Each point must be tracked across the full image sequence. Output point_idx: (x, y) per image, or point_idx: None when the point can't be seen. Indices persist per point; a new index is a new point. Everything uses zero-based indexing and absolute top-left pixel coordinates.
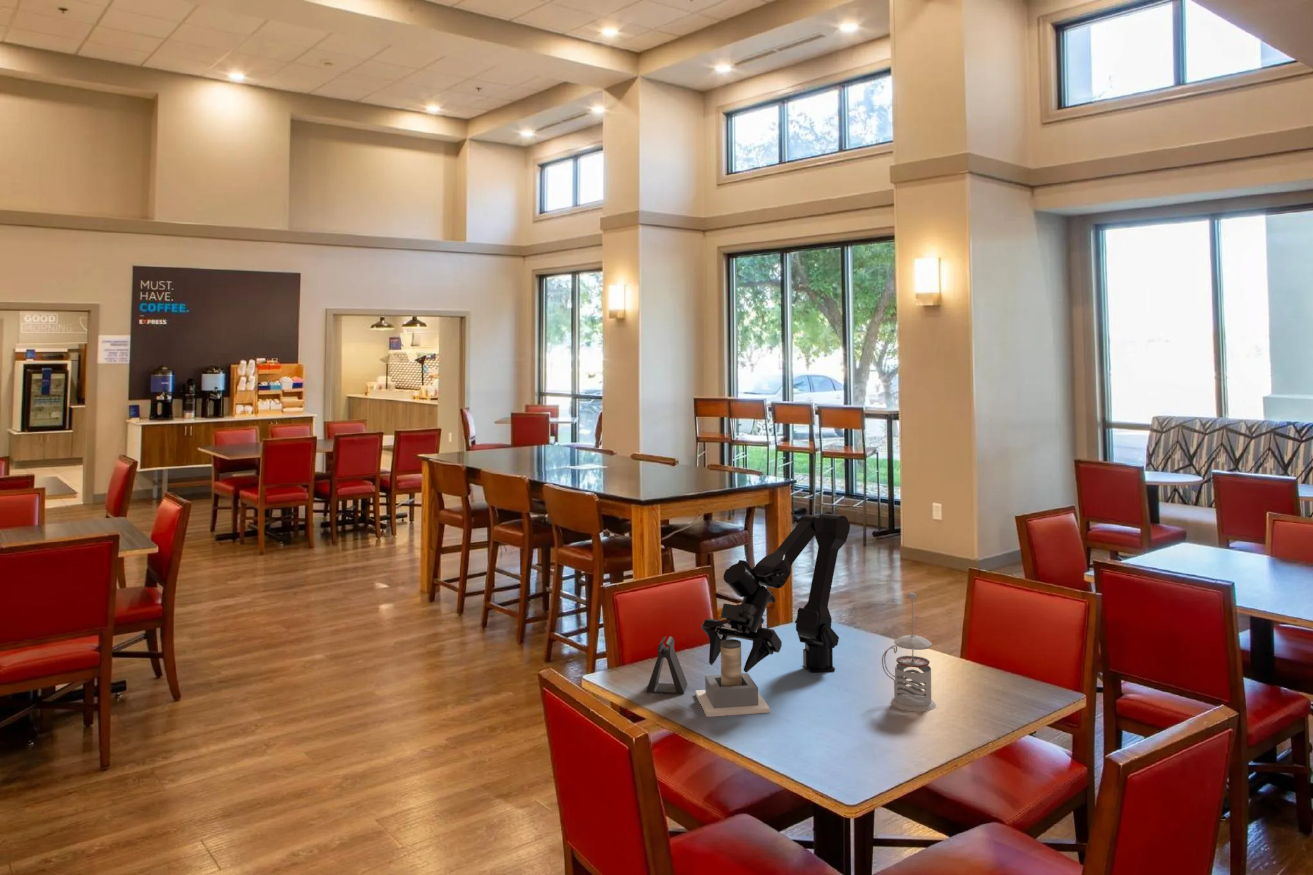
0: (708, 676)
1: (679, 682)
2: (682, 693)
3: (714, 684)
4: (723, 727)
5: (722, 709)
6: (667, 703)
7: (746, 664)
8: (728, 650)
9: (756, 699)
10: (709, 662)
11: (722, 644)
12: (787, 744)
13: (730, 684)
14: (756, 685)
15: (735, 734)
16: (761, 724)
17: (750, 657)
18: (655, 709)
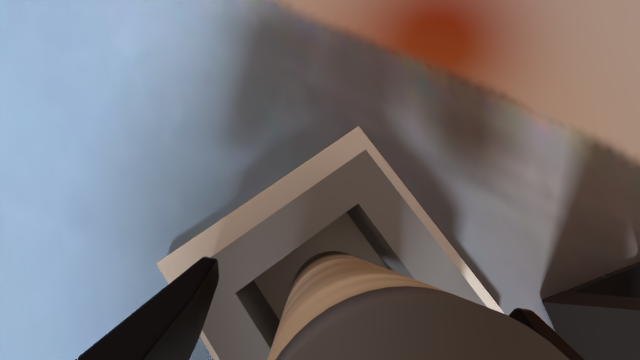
0: None
1: (599, 306)
2: (546, 299)
3: (399, 227)
4: (271, 78)
5: (319, 173)
6: (533, 188)
7: (182, 286)
8: (369, 282)
9: None
10: (526, 309)
11: (514, 322)
12: (47, 39)
13: (324, 257)
14: None
15: (217, 46)
16: (163, 146)
17: (114, 346)
18: (534, 124)
